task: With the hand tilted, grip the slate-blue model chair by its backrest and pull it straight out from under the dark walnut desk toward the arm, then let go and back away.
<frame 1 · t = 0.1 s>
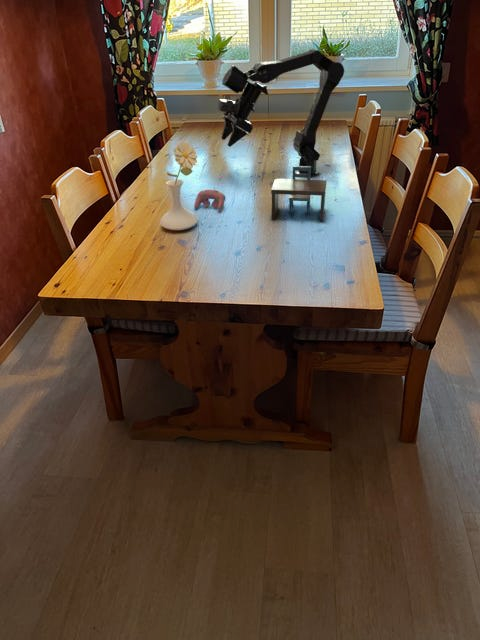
hand: (225, 142, 174), 15 cm above the table, tool tilted 35°, fingers open, 9 cm apart
chair: (299, 209, 160), on the table
flower in vase: (182, 226, 153), on the table
desk: (298, 215, 156), on the table
video game controller: (210, 208, 164), on the table
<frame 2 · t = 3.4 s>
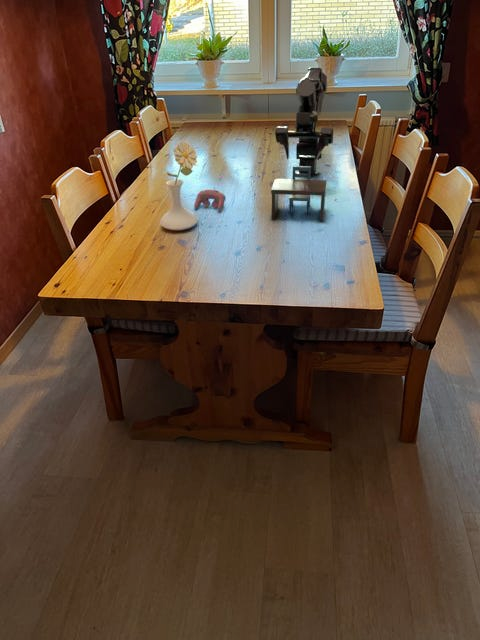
hand: (301, 159, 161), 13 cm above the table, tool tilted 45°, fingers open, 9 cm apart
nothing on the table moved.
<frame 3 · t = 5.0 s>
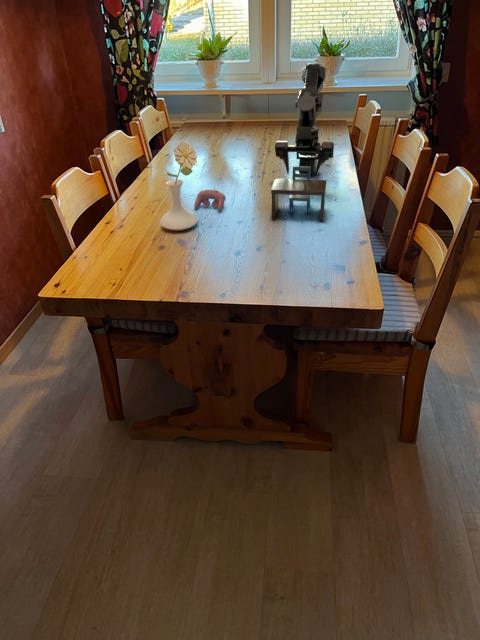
hand: (302, 173, 159), 10 cm above the table, tool tilted 45°, fingers open, 9 cm apart
nothing on the table moved.
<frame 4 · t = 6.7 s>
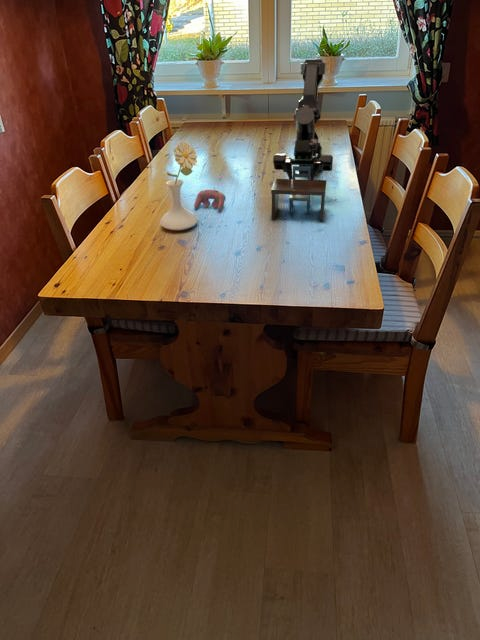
hand: (300, 187, 158), 7 cm above the table, tool tilted 45°, fingers closed on chair, 5 cm apart
chair: (299, 209, 160), on the table, touching gripper
everything else where it was.
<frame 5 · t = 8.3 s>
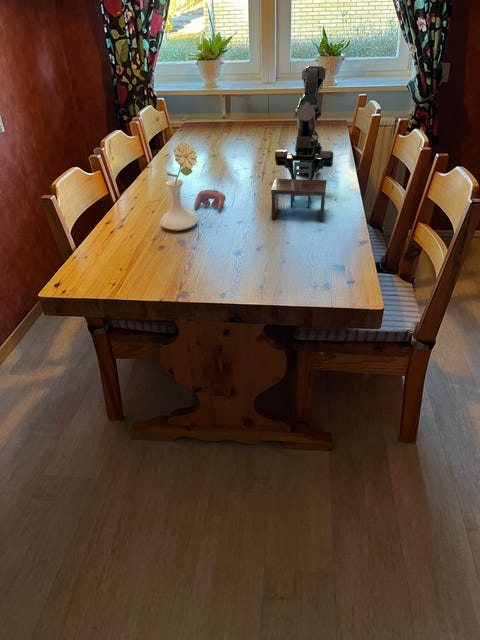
hand: (301, 182, 161), 7 cm above the table, tool tilted 45°, fingers closed on chair, 5 cm apart
chair: (300, 204, 164), on the table, touching gripper
everything else where it was.
when the fingers open (7 cm above the table, at t = 9.9 s): chair stays where it is, on the table.
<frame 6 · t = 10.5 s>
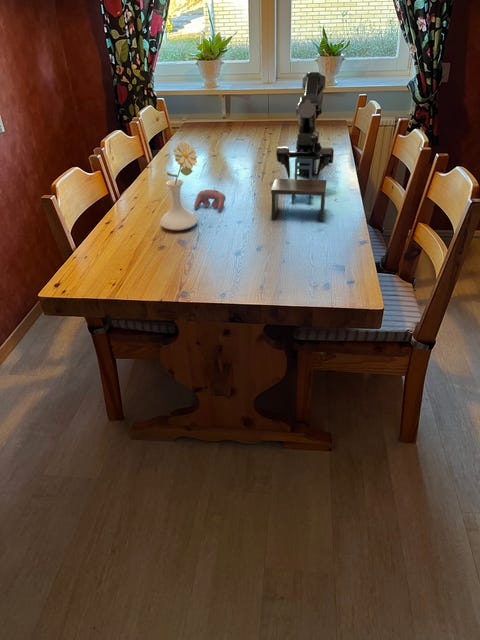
hand: (302, 178, 164), 7 cm above the table, tool tilted 45°, fingers open, 9 cm apart
chair: (301, 200, 167), on the table
everything else where it was.
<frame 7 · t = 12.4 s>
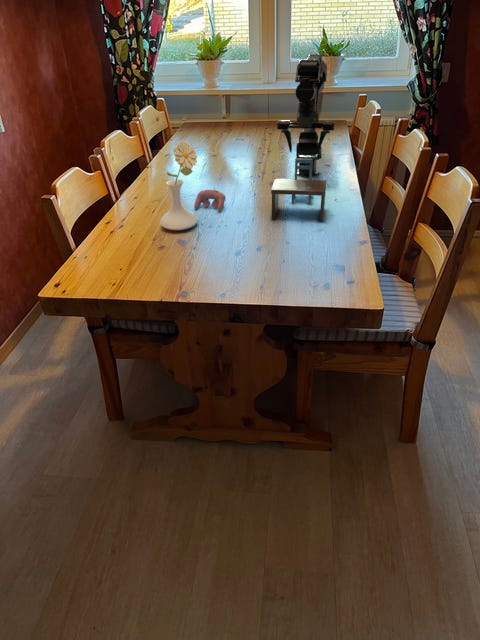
hand: (304, 152, 168), 13 cm above the table, tool pointing down, fingers open, 9 cm apart
nothing on the table moved.
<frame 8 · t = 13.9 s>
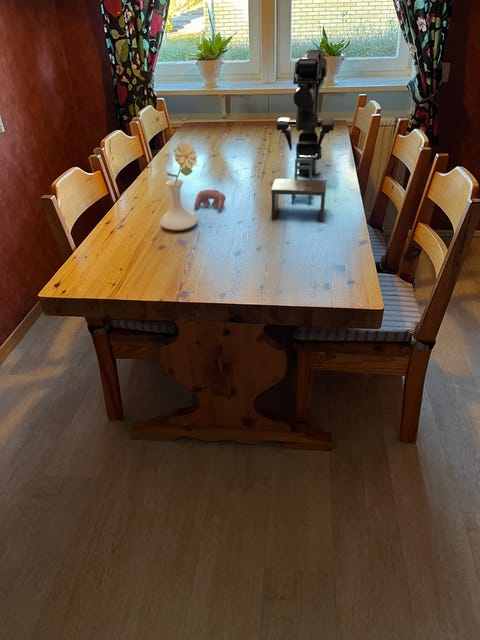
hand: (304, 150, 169), 13 cm above the table, tool pointing down, fingers open, 9 cm apart
nothing on the table moved.
at the end: chair moved 8.0 cm from its start; chair tilted 0°; the gripper is holding nothing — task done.
